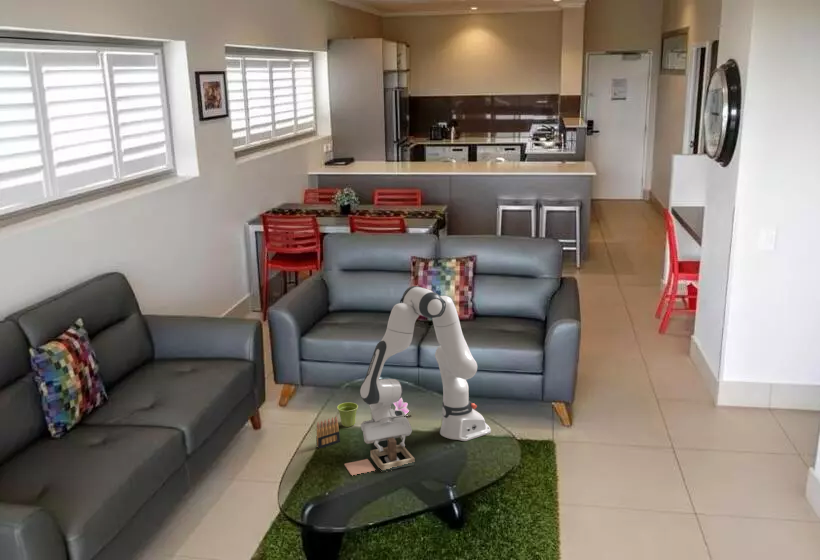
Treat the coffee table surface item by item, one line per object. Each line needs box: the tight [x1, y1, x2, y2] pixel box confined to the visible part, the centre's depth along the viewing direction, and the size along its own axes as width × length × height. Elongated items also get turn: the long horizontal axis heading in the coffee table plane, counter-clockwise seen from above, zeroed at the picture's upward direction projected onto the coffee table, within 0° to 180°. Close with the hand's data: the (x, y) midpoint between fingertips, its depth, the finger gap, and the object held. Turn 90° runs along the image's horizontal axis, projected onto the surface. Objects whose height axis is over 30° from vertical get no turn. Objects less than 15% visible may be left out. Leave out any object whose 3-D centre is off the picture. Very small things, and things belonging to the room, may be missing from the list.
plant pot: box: [336, 402, 359, 428], centre depth 338 cm, size 9×9×9 cm
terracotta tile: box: [344, 458, 376, 477], centre depth 299 cm, size 10×10×1 cm
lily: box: [392, 397, 410, 416], centre depth 345 cm, size 12×12×10 cm
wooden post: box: [384, 438, 401, 463], centre depth 303 cm, size 5×5×10 cm
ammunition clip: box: [315, 416, 341, 449], centre depth 318 cm, size 11×2×12 cm, turn 126°
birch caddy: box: [370, 443, 416, 471], centre depth 304 cm, size 14×14×3 cm
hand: (392, 449), depth 303 cm, fingers open, 8 cm apart
